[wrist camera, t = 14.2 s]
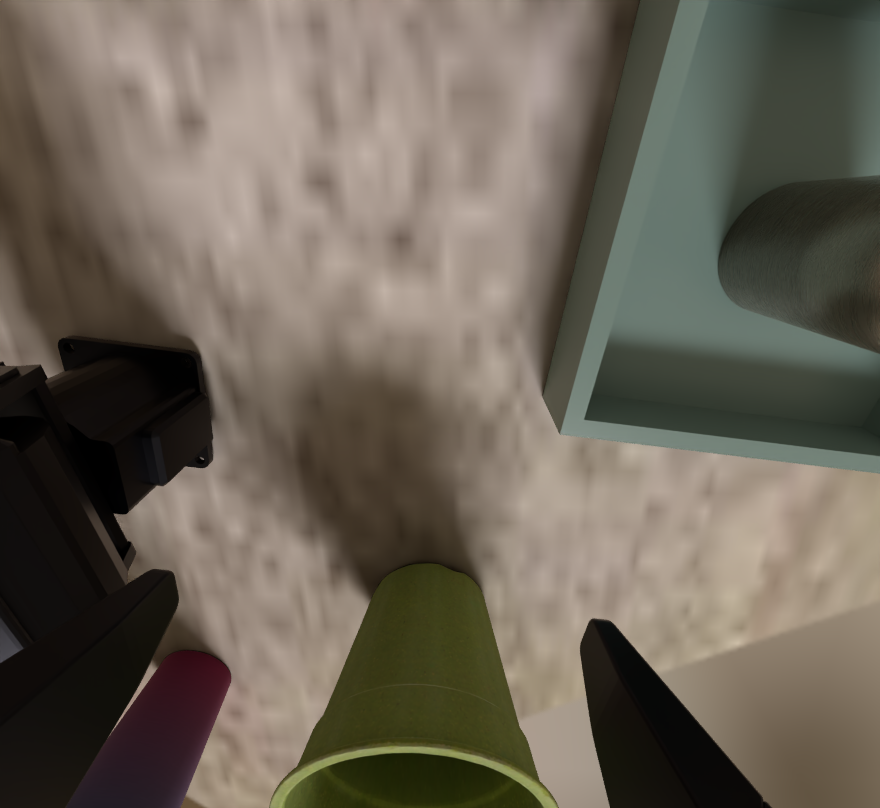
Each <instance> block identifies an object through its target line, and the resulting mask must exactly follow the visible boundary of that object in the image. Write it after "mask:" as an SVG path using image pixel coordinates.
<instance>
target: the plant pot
mask: <svg viewBox="0 0 880 808" xmlns="http://www.w3.org/2000/svg"><path fill="white" fill-rule="evenodd" d="M269 808H559V807H558V805H557V803H556V801H555V799H554V798H553V796H552V795H551V793H550V792H549V791H548V789H547V788H546V787H545V786H544V785H543V784H542V783H541V782H540V781H539V777H538V774H537V771H536V768H535V765H534V761H533V758H532V754H531V751H530V747H529V744H528V741H527V739H526V737H525V735H524V733H523V732H522V730H521V729H520V727H519V723H518V719H517V716H516V712H515V709H514V705H513V702H512V698H511V695H510V691H509V687H508V684H507V680H506V677H505V673H504V669H503V666H502V662H501V658H500V655H499V651H498V647H497V644H496V640H495V636H494V633H493V629H492V625H491V622H490V618H489V614H488V611H487V607H486V603H485V599H484V596H483V594H482V592H481V590H480V588H479V587H478V585H477V584H476V583H475V582H474V581H473V580H472V579H471V578H470V577H469V576H467V575H466V574H464V573H458V572H455V571H452V570H450V569H448V568H446V567H444V566H442V565H439V564H432V563H423V564H414V565H409V566H405V567H403V568H400V569H398V570H395V571H394V572H392V573H390V574H389V575H387V576H386V577H385V578H384V579H383V580H382V581H381V583H380V584H379V586H378V587H377V589H376V590H375V592H374V594H373V597H372V599H371V601H370V604H369V606H368V609H367V611H366V614H365V616H364V619H363V621H362V624H361V626H360V628H359V631H358V633H357V636H356V638H355V640H354V643H353V645H352V648H351V650H350V652H349V655H348V657H347V660H346V662H345V665H344V667H343V670H342V672H341V674H340V677H339V679H338V682H337V684H336V687H335V689H334V691H333V694H332V696H331V698H330V701H329V703H328V705H327V708H326V710H325V712H324V715H323V716H322V717H321V719H320V720H319V721H318V723H317V724H316V726H315V728H314V729H313V731H312V734H311V736H310V738H309V741H308V743H307V745H306V748H305V750H304V752H303V755H302V757H301V759H300V761H299V763H298V766H297V767H296V768H294V769H293V770H292V771H291V772H290V773H289V774H288V775H287V776H286V777H285V778H284V779H283V780H282V781H281V782H280V784H279V785H278V787H277V788H276V790H275V792H274V794H273V796H272V798H271V802H270V806H269Z"/></svg>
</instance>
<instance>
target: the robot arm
mask: <svg viewBox="0 0 880 808" xmlns="http://www.w3.org/2000/svg"><path fill="white" fill-rule="evenodd" d="M70 344H71V345H72V346H73V347H74V349H75V350H74V349H72V347H71V346H70ZM58 348H59V352H60V356H61V359H62V363H63V367H64V370H65V372H62V373H60V374H58V375H55V376H53V377H51V378H47V376H46V374H45V372H44V370H43V368H42V366H41V365H26V366H5V364H4V362H0V808H66V806H67V805H68V803H69V801H70V800H71V798H72V796H73V795H74V793H75V791H76V790H77V788H78V786H79V785H80V783H81V781H82V780H83V778H84V776H85V775H86V773H87V771H88V770H89V768H90V767H91V765H92V763H93V762H94V760H95V758H96V757H97V755H98V753H99V752H100V750H101V748H102V747H103V745H104V743H105V742H106V740H107V738H108V737H109V735H110V733H111V732H112V730H113V728H114V727H115V725H116V723H117V722H118V720H119V718H120V717H121V715H122V714H123V712H124V710H125V709H126V707H127V705H128V704H129V702H130V700H131V699H132V697H133V695H134V693H135V692H136V690H137V688H138V686H139V685H140V683H141V681H142V679H143V677H144V675H145V673H146V671H147V669H148V667H149V665H150V663H151V661H152V659H153V657H154V655H155V652H156V650H157V648H158V646H159V644H160V642H161V640H162V638H163V636H164V634H165V632H166V630H167V628H168V626H169V624H170V622H171V620H172V618H173V615H174V613H175V611H176V609H177V606H178V602H179V595H178V590H177V585H176V580H175V575H174V573H173V572H172V571H169V570H160V569H153V570H150V571H148V572H146V573H144V574H143V575H141V576H140V577H138V578H136V579H135V580H133V581H131V582H130V583H128V584H127V576H128V570H129V568H130V566H131V564H132V561H133V559H134V557H135V555H136V550H135V548H134V546H133V544H132V543H131V542H130V541H127V539H126V537H125V535H124V533H123V531H122V530H121V528H120V526H119V524H118V522H117V520H116V518H115V516H114V514H127V513H128V512H129V511H130V510H131V509H132V508H133V507H134V506H136V505H137V504H138V503H139V502H140V501H141V500H142V499H143V498H144V497H145V496H146V495H147V494H148V493H149V492H150V491H151V490H153V489H154V488H155V487H156V486H164V485H166V484H167V483H168V482H169V481H171V480H172V479H173V478H174V477H175V476H176V475H177V474H178V473H179V472H180V471H181V470H182V469H183V468H184V467H185V466H187V467H196V468H205V467H207V466H208V465H209V464H210V463H211V462H212V461H213V452H212V444H211V441H212V440H213V433H212V425H211V416H210V408H209V400H208V397H207V395H206V394H205V387H204V379H203V371H202V363H201V359H200V357H199V355H198V354H197V353H195V352H194V351H191V350H184V349H176V348H168V347H160V346H152V345H144V344H136V343H127V342H119V341H111V340H103V339H95V338H87V337H79V336H68V337H65V338H62V339H61V340H59V342H58ZM186 358H188V359H189V360H190V361H191V363H192V365H190V364H188V363H187V362H186ZM199 456H200V457H202V458H204V460H202V459H201V458H200V457H199ZM113 513H114V514H113ZM580 655H581V662H582V669H583V676H584V683H585V689H586V696H587V703H588V710H589V717H590V722H591V728H592V734H593V738H594V743H595V748H596V752H597V756H598V760H599V764H600V768H601V772H602V776H603V780H604V785H605V789H606V793H607V797H608V801H609V805H610V808H772V807H771V806H770V805H769V804H768V803H767V802H766V801H763V797H762V796H761V794H760V793H759V792H758V791H757V790H756V789H755V788H754V786H753V785H752V784H751V783H750V782H749V781H748V779H747V778H746V777H745V776H744V775H743V774H742V772H741V771H740V770H739V769H738V768H737V767H736V765H735V764H734V763H733V762H732V761H731V760H730V759H729V757H728V756H727V755H726V754H725V753H724V751H722V749H721V748H720V747H719V746H718V745H717V743H716V742H715V741H714V740H713V739H712V738H711V736H710V735H709V734H708V733H707V732H706V731H705V729H704V728H703V727H702V726H701V725H700V724H699V722H698V721H697V720H696V719H695V718H694V717H693V716H692V714H691V713H690V712H689V711H688V710H687V708H686V707H685V706H684V705H683V704H682V703H681V702H680V700H679V699H678V698H677V697H676V696H675V695H674V693H673V692H672V691H671V690H670V689H669V688H668V686H667V685H666V684H665V683H664V682H663V681H662V679H661V678H660V677H659V676H658V675H657V674H656V672H655V671H654V670H653V669H652V668H651V667H650V665H649V664H648V663H647V662H646V661H645V660H644V658H643V657H642V656H641V655H640V654H639V653H638V651H637V650H636V649H635V648H634V647H633V646H632V645H631V643H630V642H629V641H628V640H627V639H626V638H625V636H624V635H623V634H622V633H621V632H620V631H619V629H618V628H617V627H616V626H615V625H614V624H613V623H612V622H611V621H609V620H604V619H595V618H594V619H591V620H590V621H589V623H588V626H587V628H586V631H585V633H584V636H583V638H582V641H581V645H580Z"/></svg>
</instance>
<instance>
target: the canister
mask: <svg viewBox="0 0 880 808" xmlns="http://www.w3.org/2000/svg"><path fill="white" fill-rule="evenodd" d="M718 272H719V279H720V283H721V286H722V288H723V290H724V292H725V294H726V295H727V296H728V298H729V299H730V300H731V301H732V302H733V303H735V304H736V305H737V306H739V307H741V308H743V309H745V310H748V311H751V312H754V313H757V314H760V315H763V316H766V317H769V318H772V319H775V320H778V321H781V322H784V323H787V324H790V325H793V326H796V327H799V328H802V329H805V330H808V331H811V332H814V333H817V334H821V335H824V336H827V337H830V338H833V339H836V340H839V341H842V342H845V343H848V344H851V345H854V346H857V347H860V348H863V349H866V350H869V351H872V352H875V353H878V354H880V175H872V176H861V177H849V178H838V179H826V180H814V181H803V182H794V183H789V184H785V185H782V186H779V187H777V188H775V189H773V190H770V191H768V192H767V193H765V194H763V195H762V196H760V197H759V198H757V199H756V200H755V201H754V202H752V203H751V204H750V205H749V206H748V207H747V208H746V209H745V210H744V211H743V212H742V213H741V214H740V215H739V216H738V218H737V219H736V220H735V222H734V223H733V224H732V226H731V228H730V229H729V231H728V233H727V235H726V237H725V239H724V242H723V244H722V247H721V251H720V256H719V263H718Z"/></svg>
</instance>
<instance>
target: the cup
mask: <svg viewBox="0 0 880 808" xmlns="http://www.w3.org/2000/svg"><path fill="white" fill-rule="evenodd" d="M230 683H231V674H230V672H229V670H228V668H227V667H226V666H225V665H224V664H223V663H222V662H221V661H219V660H218V659H216V658H215V657H213V656H210V655H208V654H205V653H202V652H197V651H189V650H187V651H178V652H174V653H172V654H170V655H168V656H167V657H166V658H165V659H164V660H163V662H162V663H161V665H160V666H159V667H158V669H157V670H156V672H155V673H154V674H153V676H152V677H151V679H150V680H149V681H148V683H147V684H146V686H145V687H144V688H143V690H142V691H141V693H140V694H139V695H138V697H137V698H136V700H135V701H134V702H133V704H132V705H131V707H130V708H129V709H128V711H127V712H126V714H125V715H124V716H123V718H122V719H121V721H120V722H119V723H118V725H117V726H116V728H115V729H114V730H113V732H112V733H111V735H110V736H109V737H108V739H107V740H106V742H105V743H104V745H103V747H102V748H101V750H100V752H99V753H98V755H97V757H96V758H95V760H94V762H93V763H92V765H91V767H90V768H89V770H88V771H87V773H86V775H85V776H84V778H83V780H82V781H81V783H80V785H79V786H78V788H77V790H76V791H75V793H74V795H73V796H72V798H71V800H70V801H69V803H68V805H67V806H66V808H181V805H182V803H183V800H184V798H185V795H186V793H187V790H188V788H189V785H190V783H191V780H192V778H193V775H194V773H195V770H196V768H197V765H198V763H199V760H200V758H201V755H202V753H203V750H204V748H205V745H206V743H207V740H208V738H209V735H210V733H211V730H212V728H213V725H214V723H215V720H216V718H217V715H218V713H219V711H220V708H221V706H222V703H223V701H224V698H225V696H226V693H227V691H228V688H229V686H230Z"/></svg>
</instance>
